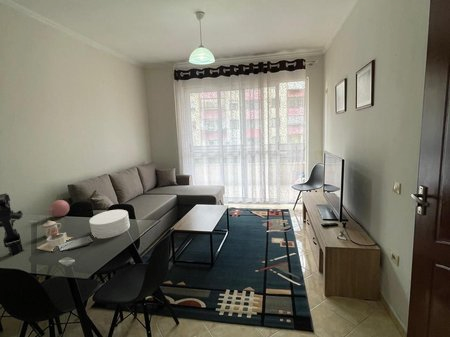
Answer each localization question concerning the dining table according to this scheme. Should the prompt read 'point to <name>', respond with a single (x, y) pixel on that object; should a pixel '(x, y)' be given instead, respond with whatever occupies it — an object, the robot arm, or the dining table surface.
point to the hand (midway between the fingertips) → (11, 230)
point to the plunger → (55, 235)
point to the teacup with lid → (50, 228)
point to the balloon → (59, 208)
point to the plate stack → (109, 223)
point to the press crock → (54, 242)
